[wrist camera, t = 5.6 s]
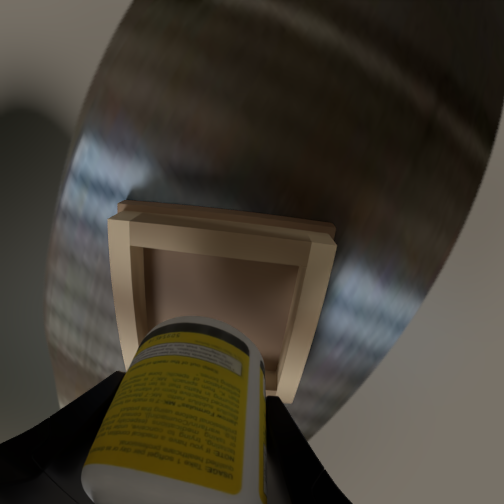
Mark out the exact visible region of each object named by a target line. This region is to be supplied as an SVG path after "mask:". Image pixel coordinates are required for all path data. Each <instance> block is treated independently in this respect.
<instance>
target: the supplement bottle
mask: <svg viewBox="0 0 504 504" xmlns="http://www.w3.org/2000/svg"><path fill="white" fill-rule="evenodd" d="M265 390H266V389H265V366H264V361H263V358H262V356H261V353H260V352H259V350H258V348H257V347H256V346H255V344H254V343H253V342H252V341H251V340H250V339H249V338H248V337H247V336H245V335H244V334H243V333H242V332H240V331H239V330H237V329H236V328H234V327H232V326H231V325H229V324H227V323H224V322H222V321H219V320H216V319H212V318H208V317H202V316H181V317H175V318H172V319H169V320H166V321H164V322H162V323H160V324H158V325H157V326H155V327H154V328H153V329H152V330H151V331H150V332H149V333H148V334H147V335H146V336H145V338H144V339H143V340H142V342H141V344H140V346H139V347H138V350H137V352H136V354H135V356H134V358H133V360H132V362H131V364H130V366H129V368H128V370H127V372H126V374H125V376H124V378H123V380H122V382H121V384H120V386H119V388H118V390H117V392H116V394H115V397H114V399H113V401H112V403H111V405H110V407H109V409H108V411H107V413H106V415H105V418H104V420H103V422H102V424H101V427H100V429H99V431H98V433H97V436H96V438H95V440H94V442H93V445H92V447H91V449H90V452H89V454H88V457H87V459H86V461H85V464H84V466H83V469H82V474H81V482H82V486H83V489H84V491H85V492H86V494H87V495H88V497H89V498H90V499H91V500H92V501H93V502H94V503H95V504H267V441H266V391H265Z"/></svg>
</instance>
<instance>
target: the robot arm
mask: <svg viewBox="0 0 504 504" xmlns="http://www.w3.org/2000/svg"><path fill="white" fill-rule="evenodd" d="M125 374H126V373H125V372H122V371H116V372H114V373H113V374H112V375H110V376H109V377H107V378H106V379H104V380H103V381H102V382H100V383H99V384H97V385H96V386H94V387H93V388H91V389H90V390H88V391H87V392H86V393H84V394H83V395H81V396H80V397H78V398H77V399H75V400H74V401H72V402H71V403H69V404H68V405H66V406H65V407H63V408H62V409H60V410H59V411H58V412H56V413H55V414H53V415H52V416H50V418H47V419H45V420H44V421H42V422H41V423H39V424H38V425H36V426H34V427H33V428H31V429H29V430H27V431H25V432H24V433H22V434H20V435H18V436H16V437H13V438H11V439H9V440H7V441H5V442H3V443H1V444H0V504H95V503H94V502H93V501H92V500H91V499H90V498H89V497H88V495H87V494H86V492H85V491H84V489H83V486H82V482H81V474H82V469H83V466H84V464H85V461H86V459H87V457H88V454H89V452H90V449H91V447H92V445H93V442H94V440H95V438H96V436H97V433H98V431H99V429H100V427H101V424H102V422H103V420H104V418H105V415H106V413H107V411H108V409H109V407H110V405H111V403H112V401H113V399H114V397H115V394H116V392H117V390H118V388H119V386H120V384H121V382H122V380H123V378H124V376H125ZM266 441H267V504H352V502H351V501H350V500H348V498H347V497H346V496H345V495H344V494H343V493H342V491H341V490H340V489H339V488H338V487H337V485H336V484H335V483H334V481H333V480H332V478H331V477H330V476H329V474H328V473H327V471H326V470H324V467H323V465H322V464H321V462H320V461H319V459H318V458H317V456H316V455H315V453H314V452H313V450H312V449H311V447H310V445H309V444H308V442H307V441H306V439H305V437H304V436H303V434H302V433H301V431H300V430H299V428H298V426H297V425H296V423H295V422H294V420H293V418H292V417H291V415H290V413H289V412H288V410H287V409H286V407H285V405H284V404H283V402H282V400H281V399H280V397H279V396H271V395H268V396H267V397H266Z"/></svg>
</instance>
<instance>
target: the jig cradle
mask: <svg viewBox="0 0 504 504" xmlns="http://www.w3.org/2000/svg"><path fill="white" fill-rule="evenodd" d="M335 232H336V227H335V226H334V225H333V224H332V223H329V222H322V221H315V220H308V219H301V218H293V217H286V216H278V215H271V214H263V213H254V212H246V211H238V210H229V209H220V208H210V207H201V206H191V205H180V204H169V203H158V202H146V201H133V200H124V201H122V202H119V203H118V214H116V215H114V216H112V217H111V218H109V219H108V240H109V256H110V268H111V279H112V288H113V297H114V305H115V312H116V319H117V325H118V331H119V337H120V343H121V348H122V353H123V358H124V363H125V368H126V372H127V370H128V368H129V366H130V364H131V362H132V360H133V358H134V356H135V354H136V352H137V350H138V347H139V346H140V344H141V342H142V340H143V339H144V338H145V336H146V335H147V334H148V333H149V332H150V331H151V330H152V329H153V328H154V327H155V326H157V325H158V324H160V323H162V322H164V321H166V320H169V319H172V318H175V317H181V316H202V317H208V318H212V319H216V320H219V321H222V322H224V323H227V324H229V325H231V326H232V327H234V328H236V329H237V330H239V331H240V332H242V333H243V334H244V335H245V336H247V337H248V338H249V339H250V340H251V341H252V342H253V343H254V344H255V346H256V347H257V348H258V350H259V352H260V353H261V356H262V358H263V361H264V366H265V389H266V390H265V391H266V397H267V396H268V395H271V396H279V397H280V399H281V400H282V402H283V403H292V402H293V399H294V396H295V393H296V391H297V388H298V385H299V382H300V379H301V376H302V373H303V370H304V366H305V363H306V360H307V357H308V354H309V351H310V347H311V344H312V341H313V337H314V334H315V330H316V327H317V323H318V320H319V316H320V313H321V309H322V305H323V302H324V298H325V294H326V290H327V286H328V282H329V278H330V274H331V270H332V266H333V262H334V257H335V253H336V249H337V245H336V243H335V242H334V237H335Z"/></svg>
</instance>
